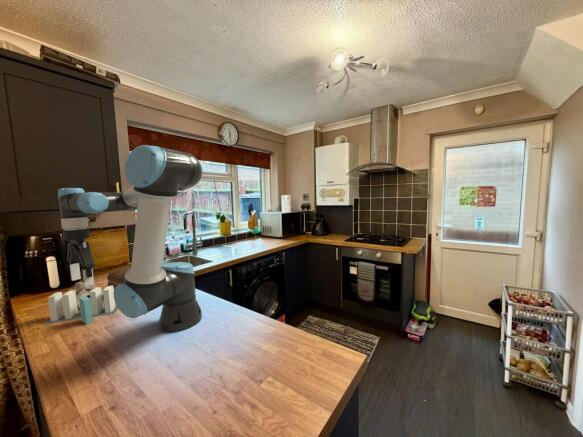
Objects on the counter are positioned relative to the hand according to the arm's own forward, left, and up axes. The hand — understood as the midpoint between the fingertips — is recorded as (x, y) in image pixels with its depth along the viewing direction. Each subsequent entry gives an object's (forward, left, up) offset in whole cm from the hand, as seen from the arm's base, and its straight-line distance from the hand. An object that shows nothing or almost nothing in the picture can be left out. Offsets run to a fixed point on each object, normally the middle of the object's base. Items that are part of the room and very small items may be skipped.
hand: (82, 282), depth 93 cm
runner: (+9, -2, -16) cm, 19 cm away
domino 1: (+15, +5, -16) cm, 22 cm away
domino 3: (+6, -6, -16) cm, 18 cm away
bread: (+15, -26, -17) cm, 34 cm away
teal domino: (0, 0, -16) cm, 16 cm away
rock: (+28, -8, -17) cm, 33 cm away
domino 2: (+12, +1, -16) cm, 20 cm away
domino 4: (+3, -9, -16) cm, 19 cm away
